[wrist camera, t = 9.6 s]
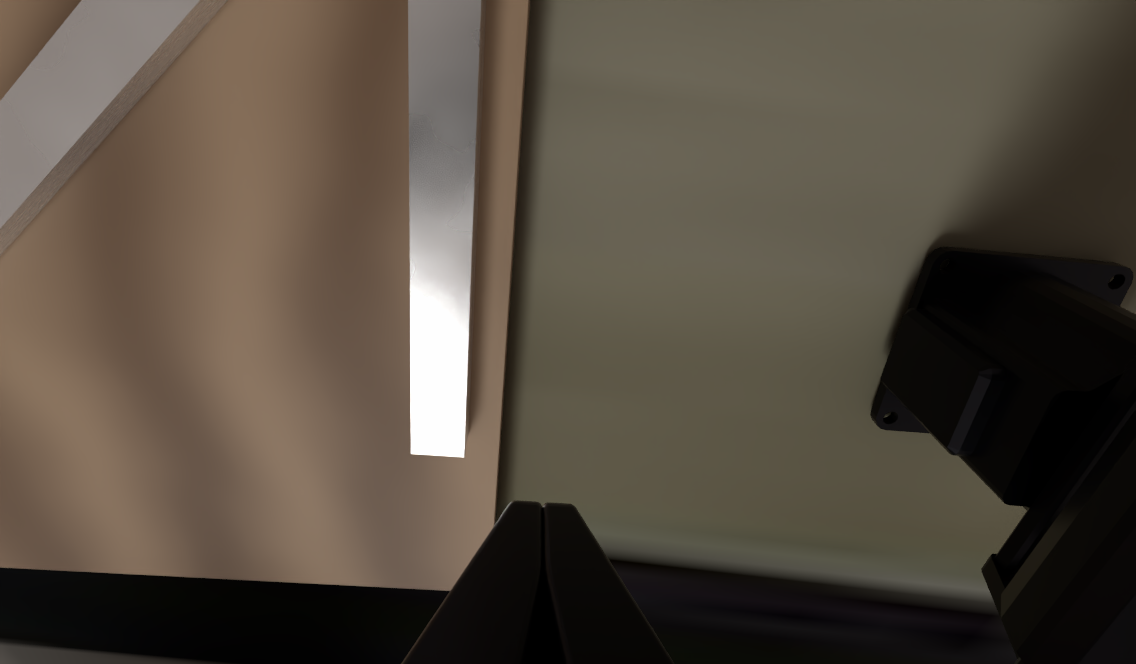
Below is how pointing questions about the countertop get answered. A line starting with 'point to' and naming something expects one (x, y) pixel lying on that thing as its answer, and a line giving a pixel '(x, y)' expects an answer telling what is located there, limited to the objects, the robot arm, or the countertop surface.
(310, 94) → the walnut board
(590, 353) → the countertop surface
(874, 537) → the countertop surface
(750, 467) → the countertop surface
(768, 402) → the countertop surface
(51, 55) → the tong arm
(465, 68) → the base
